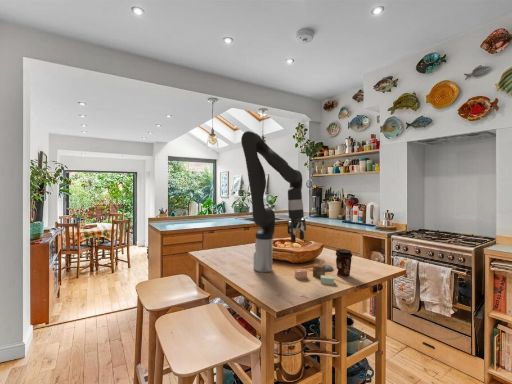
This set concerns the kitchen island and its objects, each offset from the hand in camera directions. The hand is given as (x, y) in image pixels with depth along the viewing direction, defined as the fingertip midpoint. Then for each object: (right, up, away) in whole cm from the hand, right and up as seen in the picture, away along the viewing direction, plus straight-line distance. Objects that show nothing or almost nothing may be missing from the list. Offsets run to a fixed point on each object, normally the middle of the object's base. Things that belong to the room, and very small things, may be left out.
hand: (297, 240), depth 136 cm
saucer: (+17, -18, +13) cm, 27 cm away
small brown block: (+1, -18, -2) cm, 18 cm away
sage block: (+13, -19, -8) cm, 24 cm away
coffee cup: (+23, -18, +2) cm, 30 cm away
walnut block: (+11, -18, +1) cm, 21 cm away
